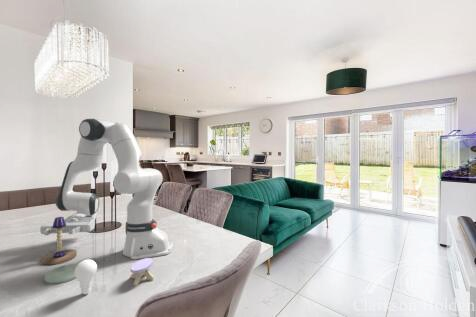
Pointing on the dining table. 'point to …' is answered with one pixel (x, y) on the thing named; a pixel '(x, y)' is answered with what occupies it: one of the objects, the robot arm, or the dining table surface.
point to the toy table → (142, 270)
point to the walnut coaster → (53, 261)
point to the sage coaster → (61, 274)
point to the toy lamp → (59, 235)
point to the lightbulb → (85, 274)
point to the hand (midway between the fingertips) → (58, 232)
